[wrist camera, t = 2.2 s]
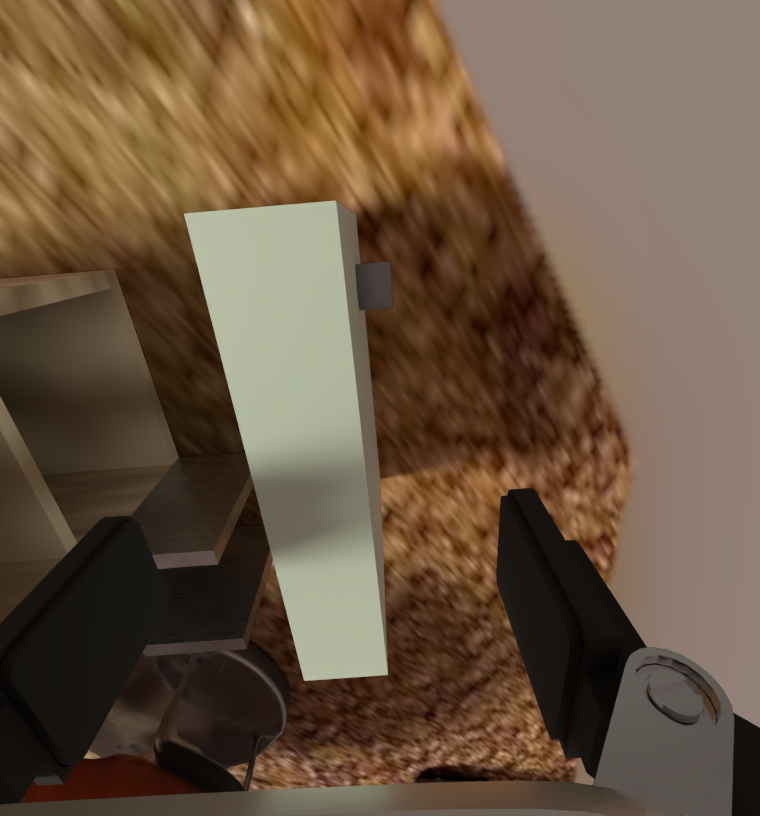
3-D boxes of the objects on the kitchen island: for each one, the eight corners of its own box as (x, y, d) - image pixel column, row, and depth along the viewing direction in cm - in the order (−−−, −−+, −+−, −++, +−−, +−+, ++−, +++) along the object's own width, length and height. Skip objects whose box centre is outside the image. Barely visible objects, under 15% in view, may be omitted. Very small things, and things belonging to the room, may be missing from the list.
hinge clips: (165, 458, 24) (76, 560, 17) (260, 451, 24) (213, 550, 17) (199, 552, 27) (137, 672, 20) (283, 546, 27) (251, 664, 20)
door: (292, 219, 19) (183, 213, 8) (381, 212, 19) (396, 195, 8) (333, 481, 25) (304, 680, 14) (399, 476, 25) (421, 672, 14)
